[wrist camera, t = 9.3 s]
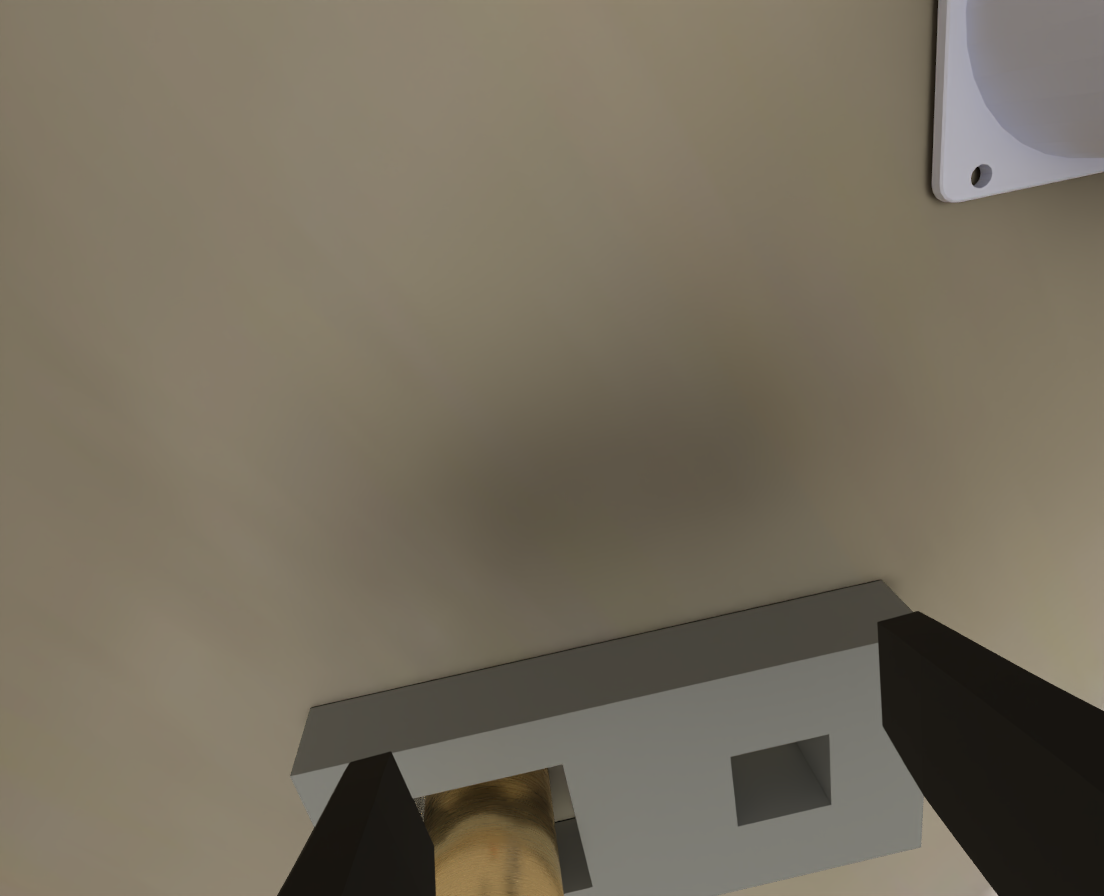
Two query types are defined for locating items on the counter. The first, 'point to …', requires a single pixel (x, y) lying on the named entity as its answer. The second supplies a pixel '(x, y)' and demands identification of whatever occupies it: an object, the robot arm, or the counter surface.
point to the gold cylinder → (495, 838)
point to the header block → (667, 747)
